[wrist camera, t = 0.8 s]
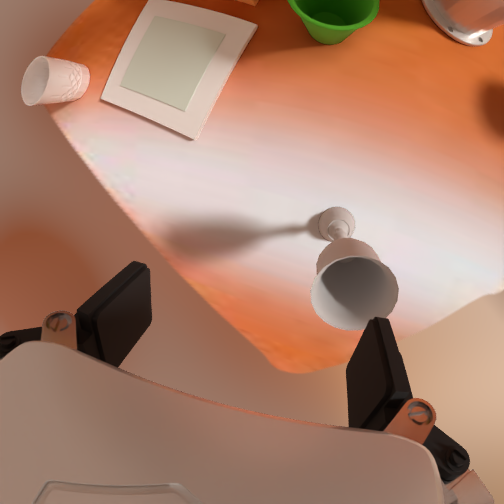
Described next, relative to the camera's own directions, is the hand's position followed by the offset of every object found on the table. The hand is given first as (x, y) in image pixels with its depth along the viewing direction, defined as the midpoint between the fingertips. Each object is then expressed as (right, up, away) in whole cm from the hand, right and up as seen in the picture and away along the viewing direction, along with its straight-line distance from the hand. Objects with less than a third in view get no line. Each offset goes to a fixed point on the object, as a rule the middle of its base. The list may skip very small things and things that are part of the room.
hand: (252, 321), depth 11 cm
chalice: (+11, +6, +26) cm, 29 cm away
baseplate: (-11, +29, +21) cm, 38 cm away
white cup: (-30, +31, +24) cm, 49 cm away
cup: (+10, +31, +16) cm, 36 cm away
